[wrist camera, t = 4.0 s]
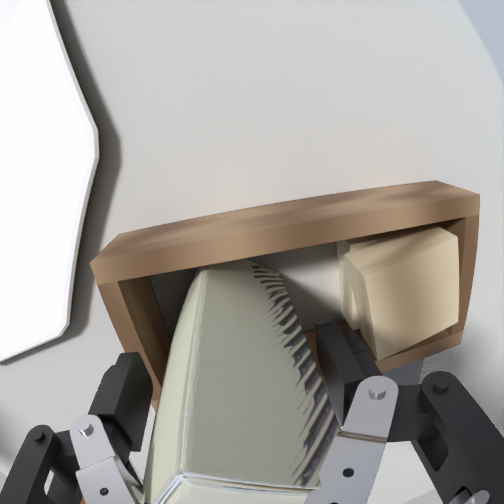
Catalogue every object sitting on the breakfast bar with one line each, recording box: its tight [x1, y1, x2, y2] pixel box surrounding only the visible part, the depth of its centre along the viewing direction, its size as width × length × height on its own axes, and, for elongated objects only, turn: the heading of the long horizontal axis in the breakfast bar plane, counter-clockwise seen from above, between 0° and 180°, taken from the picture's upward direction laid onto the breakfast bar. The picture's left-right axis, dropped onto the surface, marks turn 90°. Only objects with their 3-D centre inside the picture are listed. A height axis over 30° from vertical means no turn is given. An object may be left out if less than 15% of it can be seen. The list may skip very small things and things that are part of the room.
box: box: [141, 258, 347, 504], centre depth 11 cm, size 5×4×13 cm
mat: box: [325, 359, 423, 427], centre depth 21 cm, size 8×8×1 cm
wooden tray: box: [90, 181, 480, 412], centre depth 15 cm, size 18×9×4 cm, turn 99°
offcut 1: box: [337, 226, 416, 331], centre depth 16 cm, size 5×5×2 cm
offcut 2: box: [344, 223, 459, 361], centre depth 14 cm, size 5×5×2 cm
